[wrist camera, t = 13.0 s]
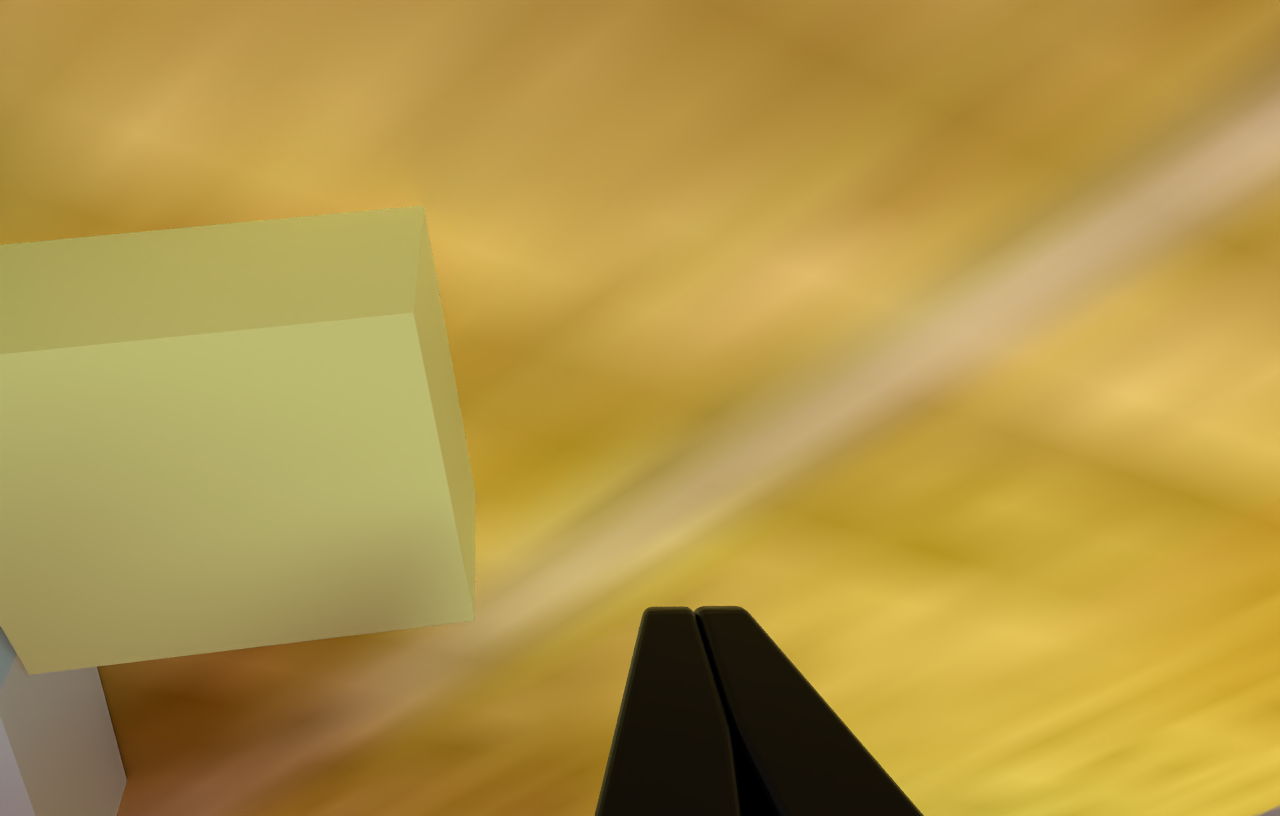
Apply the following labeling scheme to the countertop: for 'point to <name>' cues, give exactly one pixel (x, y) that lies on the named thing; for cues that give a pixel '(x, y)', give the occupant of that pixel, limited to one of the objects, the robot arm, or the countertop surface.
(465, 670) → the countertop surface
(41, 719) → the tray
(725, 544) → the countertop surface
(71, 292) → the chock
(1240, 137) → the countertop surface
